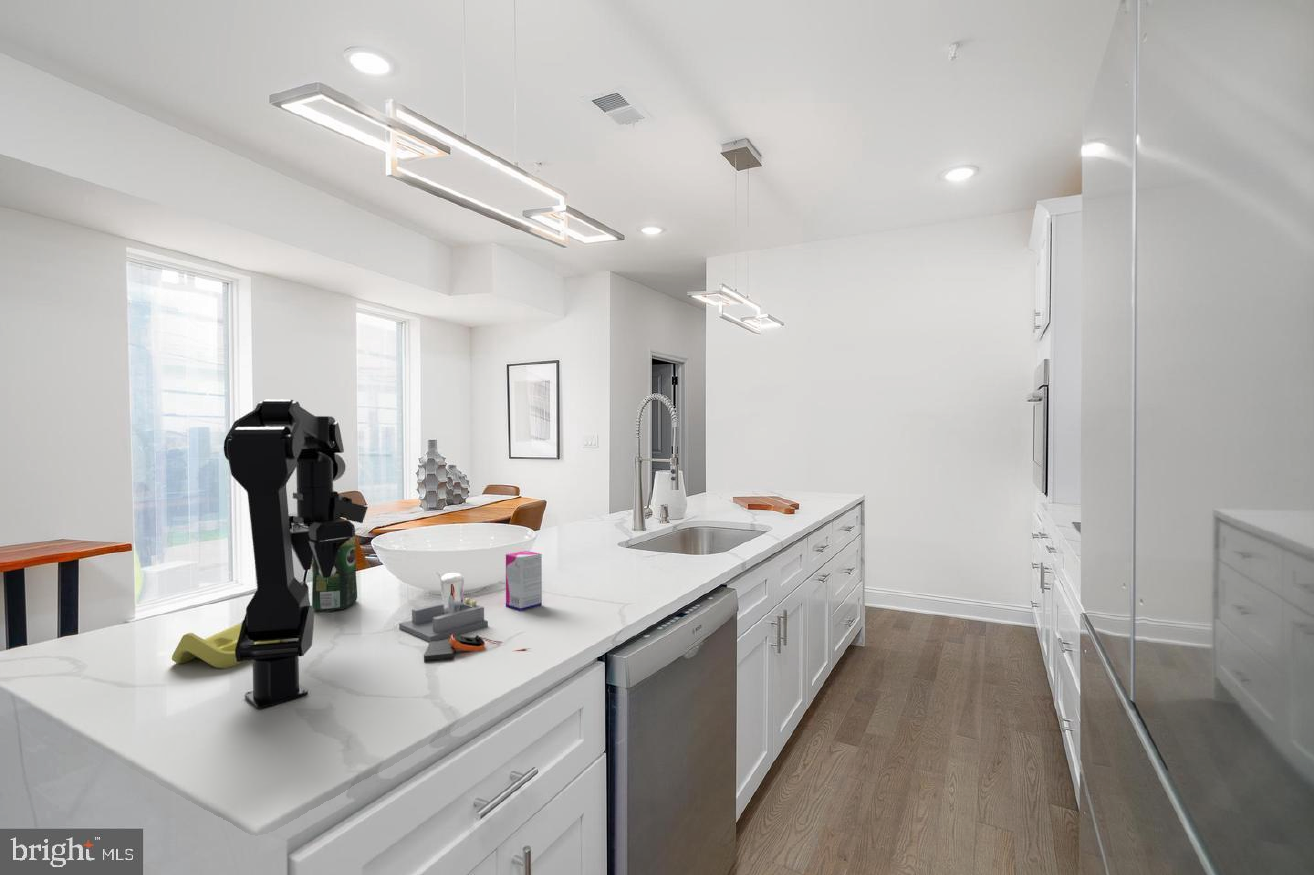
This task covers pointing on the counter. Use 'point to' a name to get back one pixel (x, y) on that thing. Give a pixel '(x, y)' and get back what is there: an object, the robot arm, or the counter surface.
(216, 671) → the counter surface
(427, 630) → the header socket
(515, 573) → the supplement box
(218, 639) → the plastic component
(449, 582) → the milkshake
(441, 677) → the counter surface
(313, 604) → the coffee jar
